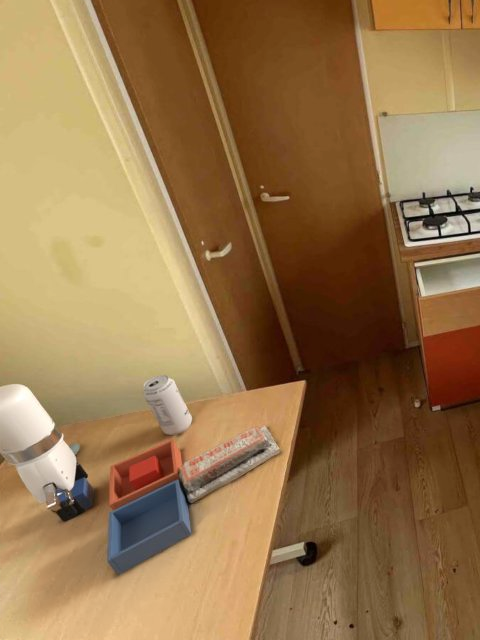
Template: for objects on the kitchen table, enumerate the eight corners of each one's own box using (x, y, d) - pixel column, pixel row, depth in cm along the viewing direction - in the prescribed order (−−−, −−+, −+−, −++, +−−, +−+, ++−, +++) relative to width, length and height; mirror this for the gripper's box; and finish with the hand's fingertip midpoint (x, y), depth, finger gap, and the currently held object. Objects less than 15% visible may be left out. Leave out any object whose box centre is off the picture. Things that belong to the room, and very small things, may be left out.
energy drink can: (198, 422, 107) (177, 378, 100) (172, 440, 102) (148, 395, 95) (185, 413, 110) (163, 370, 103) (159, 431, 105) (134, 386, 98)
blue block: (63, 519, 85) (52, 506, 83) (66, 503, 89) (55, 489, 86) (93, 506, 88) (83, 492, 86) (94, 490, 91) (84, 476, 89)
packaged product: (182, 491, 86) (172, 460, 92) (190, 506, 88) (180, 474, 94) (276, 439, 97) (262, 414, 103) (281, 453, 99) (267, 428, 105)
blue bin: (118, 574, 77) (107, 561, 75) (118, 526, 84) (108, 512, 82) (191, 534, 83) (183, 520, 81) (185, 492, 91) (178, 478, 89)
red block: (138, 495, 90) (129, 481, 88) (137, 479, 93) (129, 466, 91) (164, 482, 92) (156, 469, 90) (162, 468, 95) (155, 454, 93)
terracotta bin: (118, 519, 86) (108, 505, 84) (119, 479, 93) (110, 466, 91) (185, 486, 92) (177, 472, 90) (180, 451, 100) (173, 438, 98)
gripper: (12, 424, 83) (56, 478, 91) (-7, 488, 72) (46, 544, 80) (64, 405, 88) (102, 459, 96) (54, 463, 76) (99, 519, 84)
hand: (77, 498), depth 88 cm, fingers open, 9 cm apart
